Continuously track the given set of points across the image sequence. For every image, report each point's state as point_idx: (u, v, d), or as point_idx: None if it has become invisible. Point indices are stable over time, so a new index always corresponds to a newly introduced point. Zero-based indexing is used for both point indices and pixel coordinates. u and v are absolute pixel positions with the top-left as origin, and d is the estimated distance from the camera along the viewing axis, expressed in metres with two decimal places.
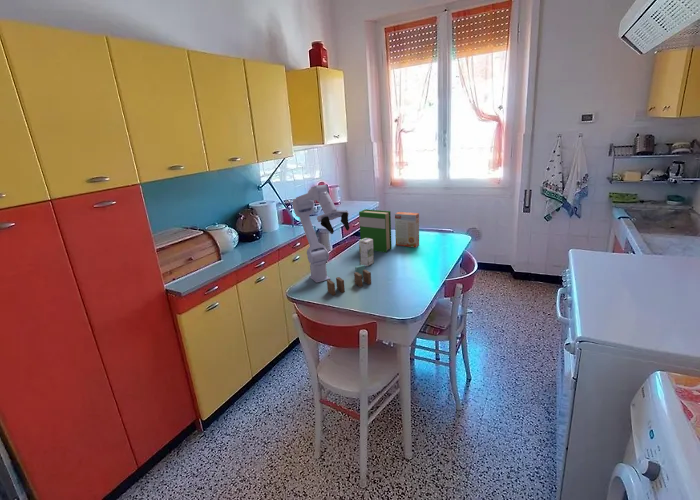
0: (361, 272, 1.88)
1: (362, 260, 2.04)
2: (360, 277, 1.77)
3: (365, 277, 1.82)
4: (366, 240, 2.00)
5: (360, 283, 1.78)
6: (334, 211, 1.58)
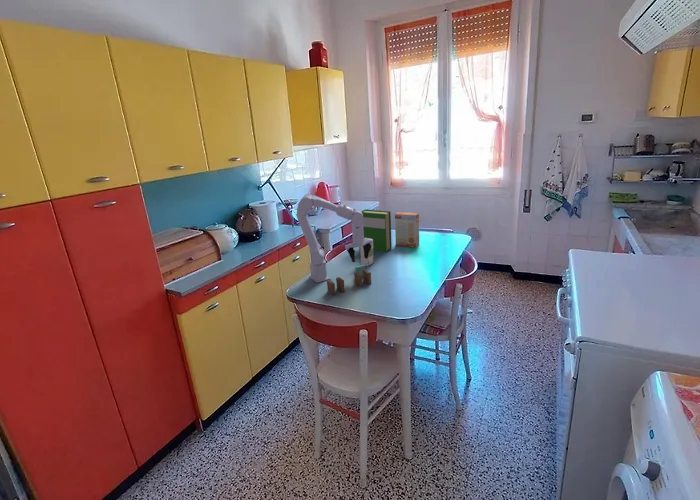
0: (361, 272, 1.88)
1: (362, 260, 2.04)
2: (360, 277, 1.77)
3: (365, 277, 1.82)
4: None
5: (360, 283, 1.78)
6: None
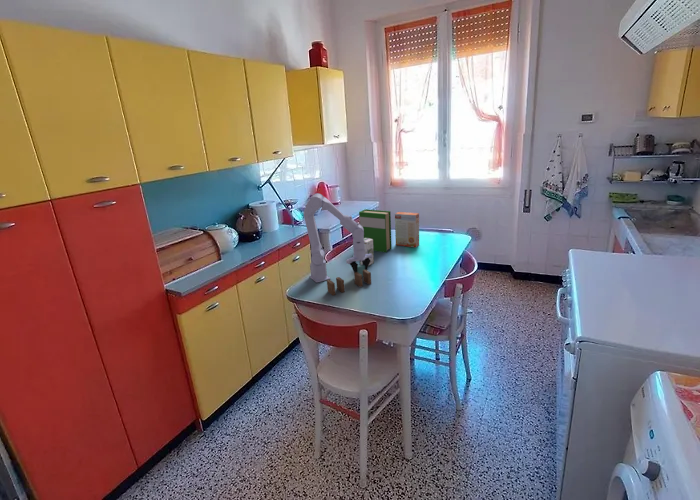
0: (361, 272, 1.88)
1: None
2: (360, 277, 1.77)
3: (365, 277, 1.82)
4: (366, 240, 2.00)
5: (360, 283, 1.78)
6: None
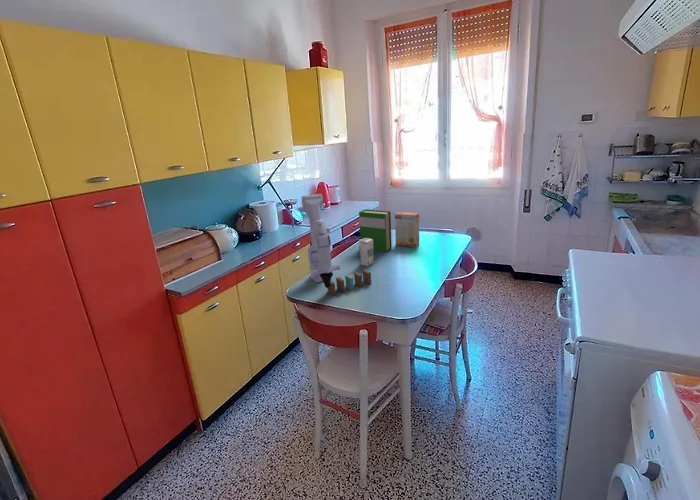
0: (348, 283, 1.77)
1: (362, 260, 2.04)
2: (360, 277, 1.77)
3: (365, 277, 1.82)
4: (366, 240, 2.00)
5: (360, 283, 1.78)
6: None
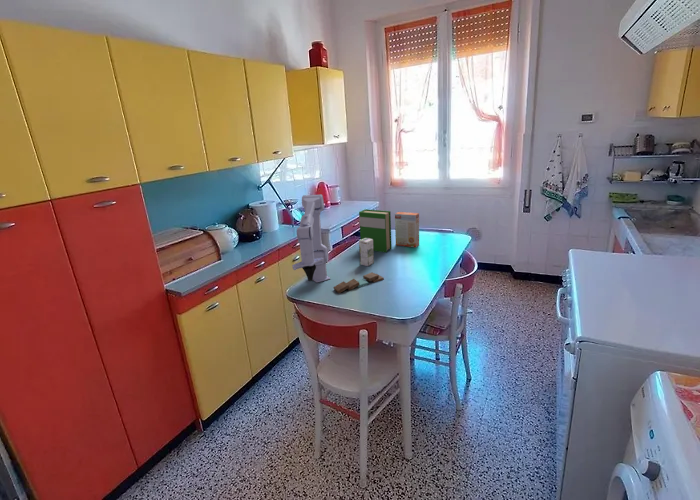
0: (360, 282, 1.81)
1: (362, 260, 2.04)
2: (377, 276, 1.84)
3: None
4: (366, 240, 2.00)
5: (372, 278, 1.82)
6: None
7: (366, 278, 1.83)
